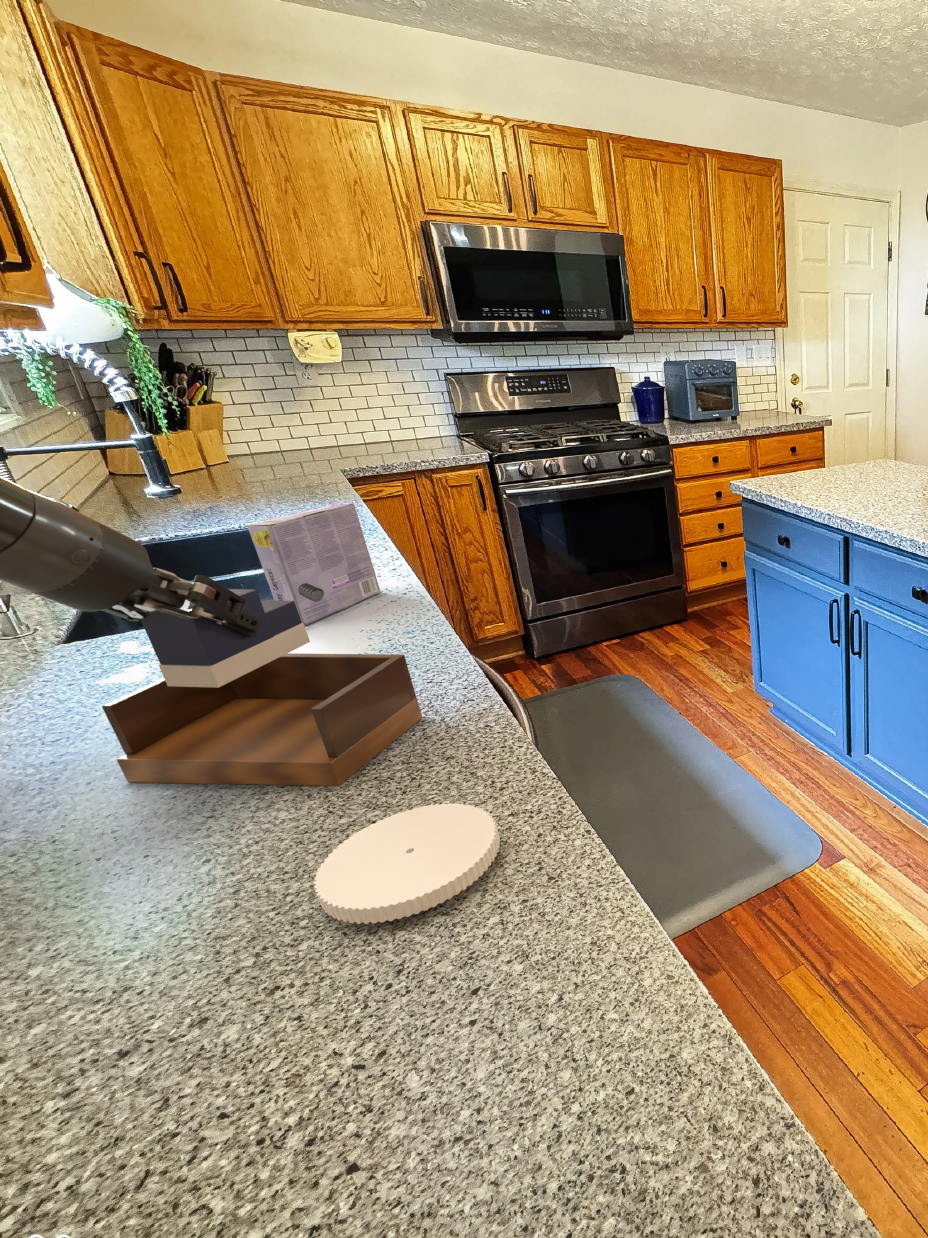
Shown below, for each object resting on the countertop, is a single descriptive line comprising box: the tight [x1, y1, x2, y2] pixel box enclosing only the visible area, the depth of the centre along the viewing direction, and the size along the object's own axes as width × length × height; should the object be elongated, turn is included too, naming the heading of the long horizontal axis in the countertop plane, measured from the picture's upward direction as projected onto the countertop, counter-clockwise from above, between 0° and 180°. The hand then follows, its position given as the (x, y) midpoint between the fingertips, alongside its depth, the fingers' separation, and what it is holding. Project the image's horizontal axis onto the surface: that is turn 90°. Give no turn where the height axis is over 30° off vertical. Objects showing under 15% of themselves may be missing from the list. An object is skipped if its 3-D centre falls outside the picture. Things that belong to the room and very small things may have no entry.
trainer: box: [139, 588, 311, 688], centre depth 75 cm, size 12×6×8 cm, turn 176°
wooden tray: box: [101, 652, 423, 787], centre depth 81 cm, size 24×15×9 cm, turn 88°
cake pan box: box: [247, 502, 381, 626], centre depth 124 cm, size 19×5×18 cm, turn 174°
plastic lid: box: [313, 802, 501, 925], centre depth 62 cm, size 14×14×2 cm
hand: (228, 627), depth 75 cm, fingers closed on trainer, 5 cm apart
